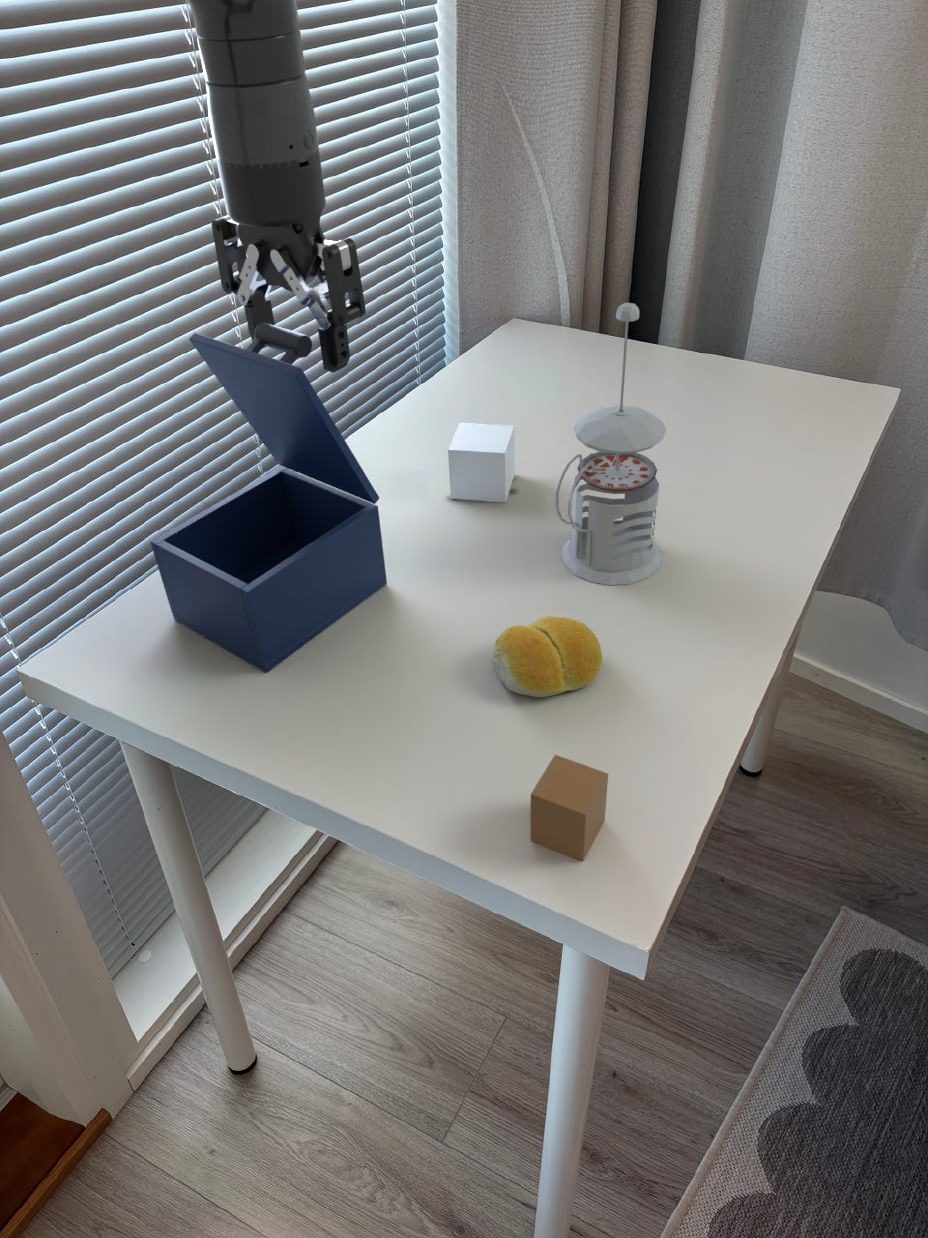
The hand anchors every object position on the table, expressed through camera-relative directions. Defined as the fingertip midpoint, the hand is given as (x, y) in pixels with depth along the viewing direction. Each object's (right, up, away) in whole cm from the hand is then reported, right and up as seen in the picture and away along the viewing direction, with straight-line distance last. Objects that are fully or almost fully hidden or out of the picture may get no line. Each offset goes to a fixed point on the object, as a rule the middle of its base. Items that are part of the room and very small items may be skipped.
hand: (300, 356), depth 80 cm
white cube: (+16, -8, +24) cm, 30 cm away
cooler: (-3, -20, +10) cm, 23 cm away
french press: (+27, -16, +13) cm, 34 cm away
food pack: (+21, -37, -12) cm, 44 cm away
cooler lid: (-2, -5, +2) cm, 6 cm away
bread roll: (+21, -26, +1) cm, 34 cm away
